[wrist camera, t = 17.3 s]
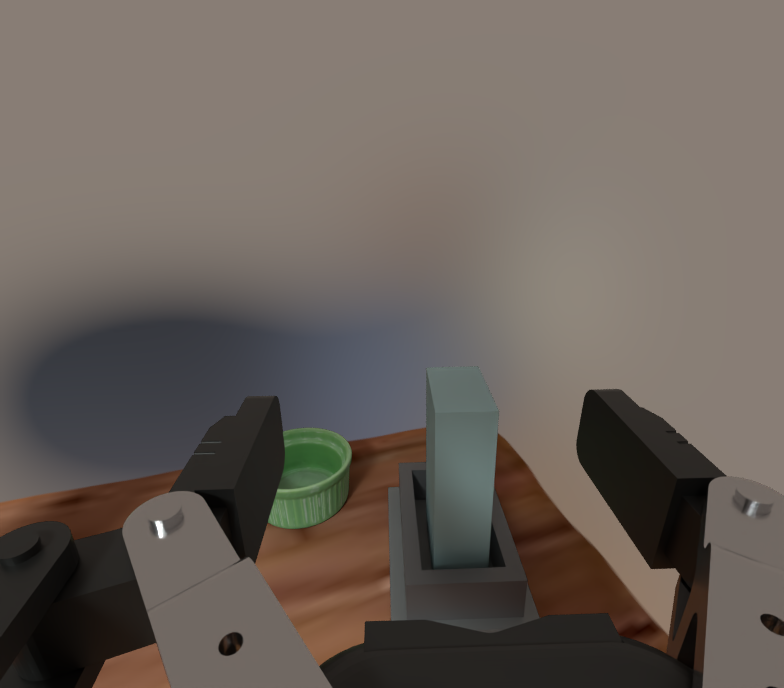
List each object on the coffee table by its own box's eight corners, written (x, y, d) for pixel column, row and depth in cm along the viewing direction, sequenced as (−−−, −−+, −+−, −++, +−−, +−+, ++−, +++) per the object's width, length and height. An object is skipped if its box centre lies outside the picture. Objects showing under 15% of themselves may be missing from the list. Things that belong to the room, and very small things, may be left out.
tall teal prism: (433, 586, 29) (435, 413, 24) (426, 519, 35) (426, 367, 30) (487, 585, 29) (499, 411, 24) (471, 518, 35) (478, 366, 30)
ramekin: (336, 543, 34) (332, 497, 33) (230, 528, 36) (221, 484, 34) (365, 471, 42) (363, 431, 41) (278, 461, 44) (272, 423, 43)
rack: (391, 645, 27) (389, 596, 25) (388, 496, 39) (387, 458, 37) (541, 639, 27) (548, 590, 25) (491, 493, 39) (494, 454, 37)
